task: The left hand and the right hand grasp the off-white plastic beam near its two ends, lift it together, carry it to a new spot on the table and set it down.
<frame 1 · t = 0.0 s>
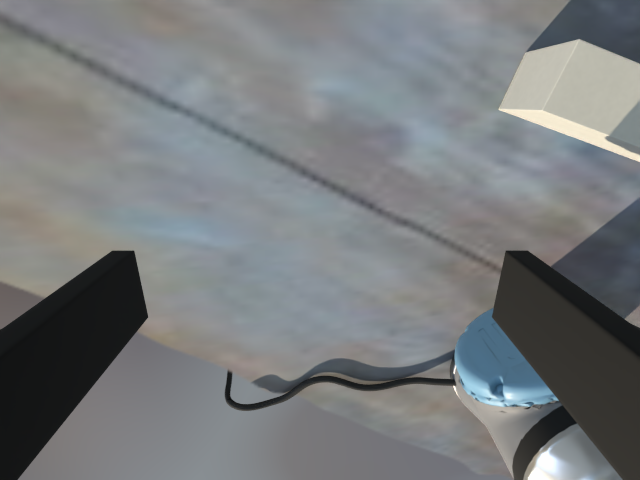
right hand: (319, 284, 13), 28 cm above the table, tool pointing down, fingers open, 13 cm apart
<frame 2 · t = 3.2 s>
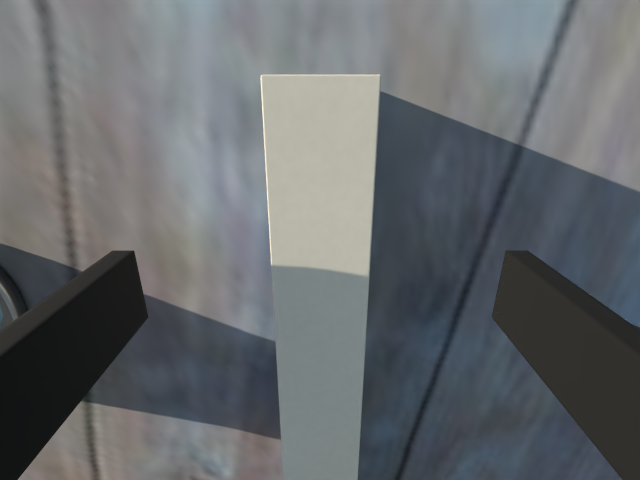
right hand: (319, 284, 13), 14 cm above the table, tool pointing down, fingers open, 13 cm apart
beam: (320, 392, 33), on the table, touching left hand
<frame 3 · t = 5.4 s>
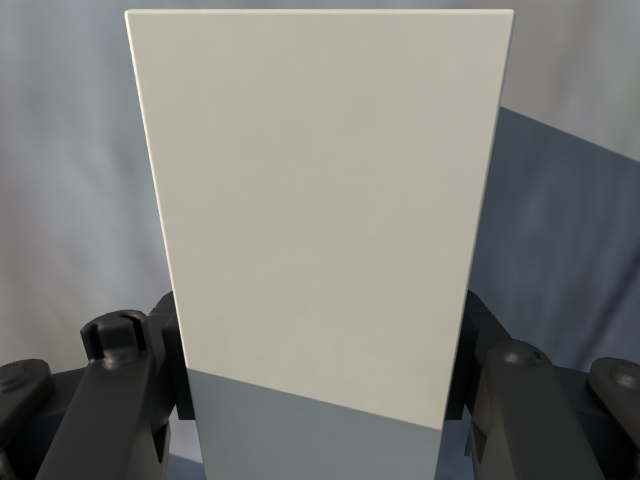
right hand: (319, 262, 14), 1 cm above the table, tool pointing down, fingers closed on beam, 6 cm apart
when the left hand's fingers open (2 cm above the table, at t = 9.0 s): beam drops 2 cm, on the table.
when the right hand's fingers open (2 cm above the table, at t = 9.0 s): beam drops 2 cm, on the table.
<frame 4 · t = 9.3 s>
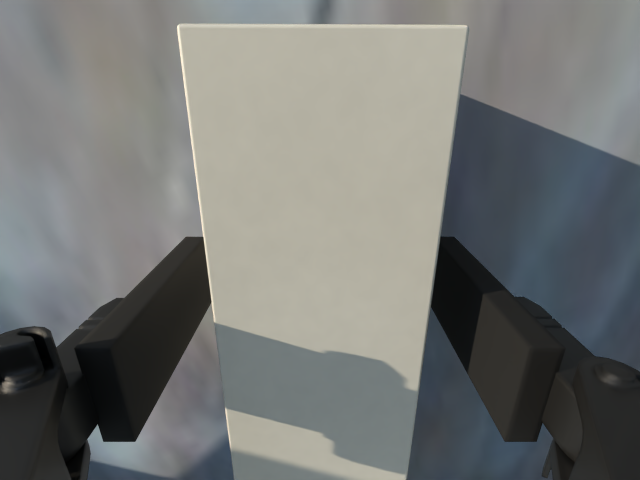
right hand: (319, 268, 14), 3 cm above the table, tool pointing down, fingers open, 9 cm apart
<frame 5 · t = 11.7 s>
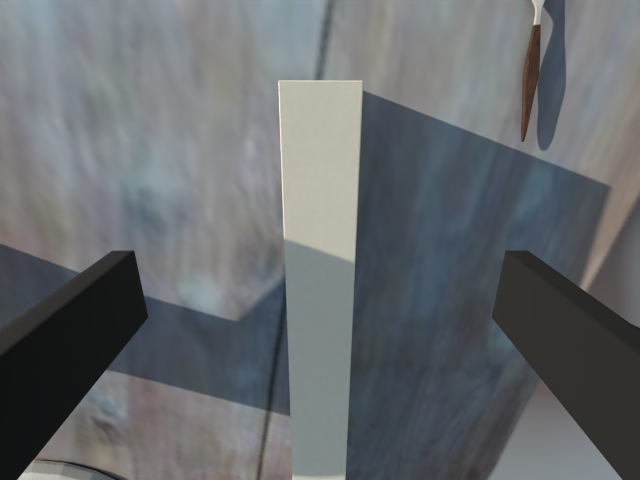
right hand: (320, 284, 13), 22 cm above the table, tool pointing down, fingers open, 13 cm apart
beam: (319, 341, 40), on the table
fork: (530, 42, 29), on the table
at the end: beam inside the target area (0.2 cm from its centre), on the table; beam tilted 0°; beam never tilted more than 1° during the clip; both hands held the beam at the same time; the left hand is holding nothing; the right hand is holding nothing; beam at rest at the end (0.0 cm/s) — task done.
